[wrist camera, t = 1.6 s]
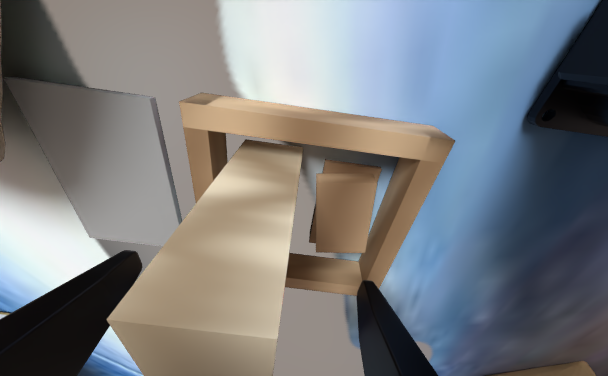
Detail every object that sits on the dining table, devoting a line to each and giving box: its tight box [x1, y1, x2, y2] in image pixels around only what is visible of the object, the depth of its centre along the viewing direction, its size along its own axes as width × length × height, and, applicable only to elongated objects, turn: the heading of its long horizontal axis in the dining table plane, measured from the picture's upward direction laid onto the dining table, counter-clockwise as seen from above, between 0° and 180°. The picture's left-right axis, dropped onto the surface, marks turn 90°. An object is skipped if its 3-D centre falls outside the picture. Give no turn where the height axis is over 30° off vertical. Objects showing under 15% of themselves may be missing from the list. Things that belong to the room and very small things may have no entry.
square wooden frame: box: [179, 93, 455, 296], centre depth 13 cm, size 11×11×2 cm
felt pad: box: [4, 77, 182, 247], centre depth 13 cm, size 6×10×1 cm, turn 173°
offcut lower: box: [309, 159, 382, 243], centre depth 14 cm, size 3×6×1 cm, turn 173°
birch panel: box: [107, 140, 303, 376], centre depth 10 cm, size 3×7×9 cm, turn 173°
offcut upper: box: [316, 174, 377, 253], centre depth 13 cm, size 3×5×1 cm, turn 1°
